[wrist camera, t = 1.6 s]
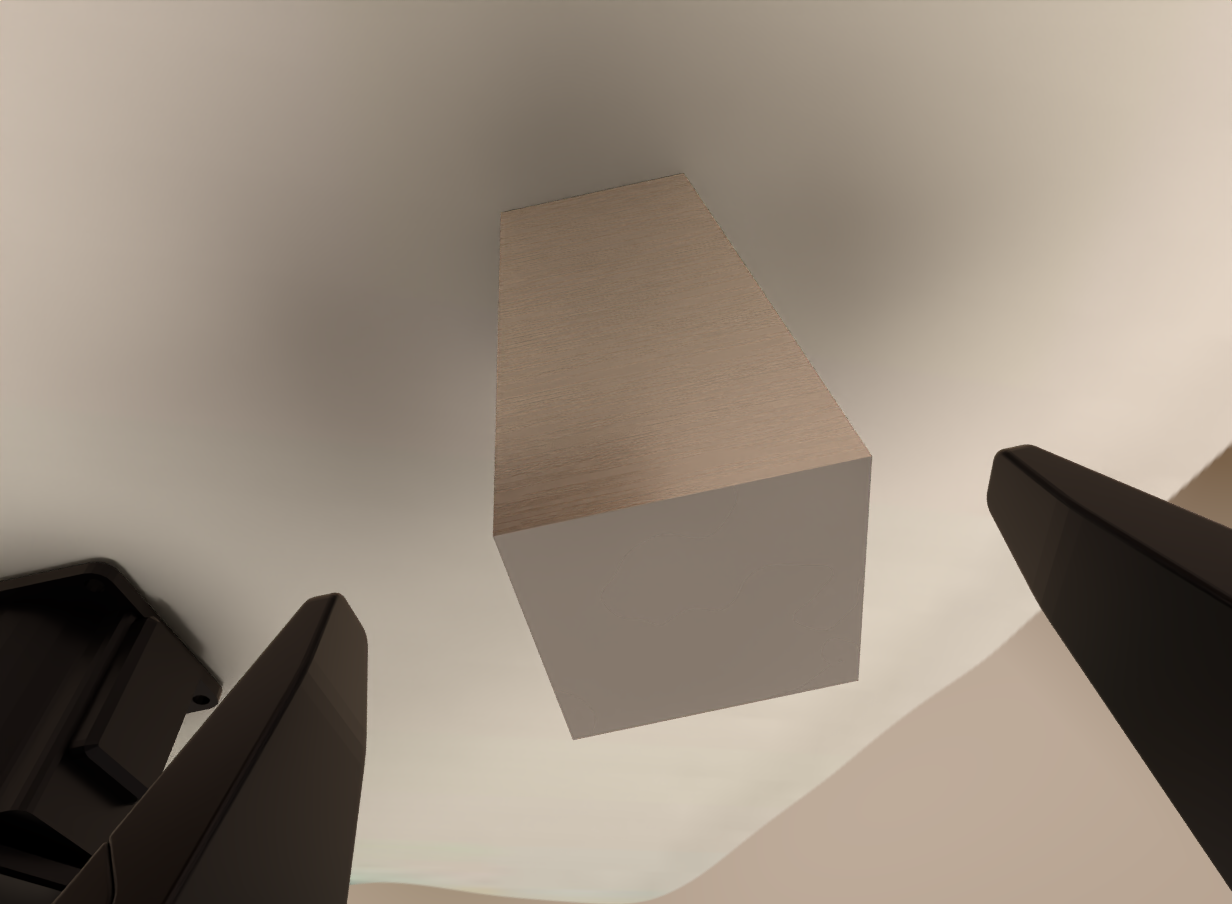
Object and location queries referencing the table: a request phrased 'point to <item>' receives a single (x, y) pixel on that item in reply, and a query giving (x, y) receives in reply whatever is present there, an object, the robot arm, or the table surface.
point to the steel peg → (667, 467)
